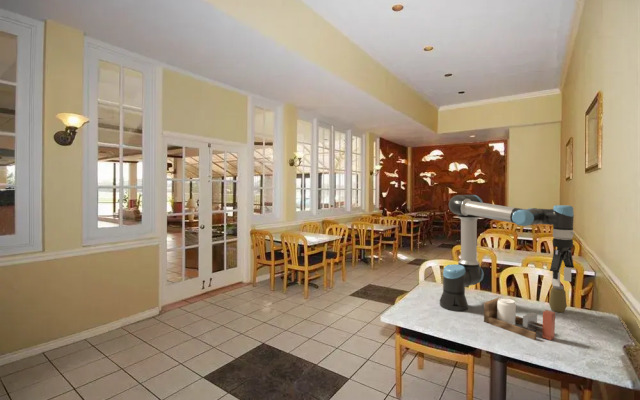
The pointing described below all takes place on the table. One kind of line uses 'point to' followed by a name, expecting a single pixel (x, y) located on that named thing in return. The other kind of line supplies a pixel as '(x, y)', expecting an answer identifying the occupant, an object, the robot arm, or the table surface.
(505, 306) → the beverage can
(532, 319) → the plunger
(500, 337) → the table surface
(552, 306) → the squeeze bottle
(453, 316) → the table surface
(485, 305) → the cradle frame
